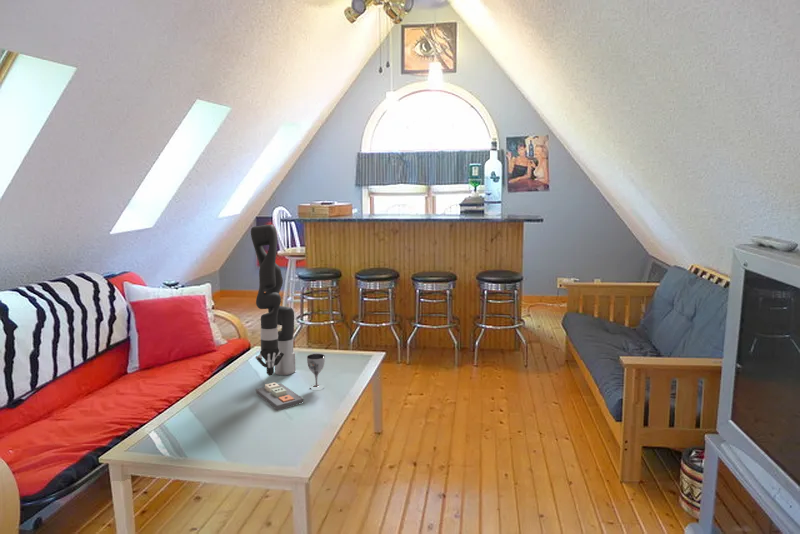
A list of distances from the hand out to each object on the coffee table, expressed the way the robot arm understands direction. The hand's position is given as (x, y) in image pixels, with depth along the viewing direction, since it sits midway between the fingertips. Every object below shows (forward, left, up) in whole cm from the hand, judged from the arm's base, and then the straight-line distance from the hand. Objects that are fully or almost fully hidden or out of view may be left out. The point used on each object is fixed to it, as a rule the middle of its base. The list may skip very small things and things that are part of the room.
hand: (270, 375), depth 246 cm
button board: (-1, +7, -9) cm, 11 cm away
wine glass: (-20, +6, -9) cm, 22 cm away
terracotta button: (-1, +14, -8) cm, 17 cm away
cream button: (-1, 0, -7) cm, 7 cm away
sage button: (-1, +7, -7) cm, 10 cm away
